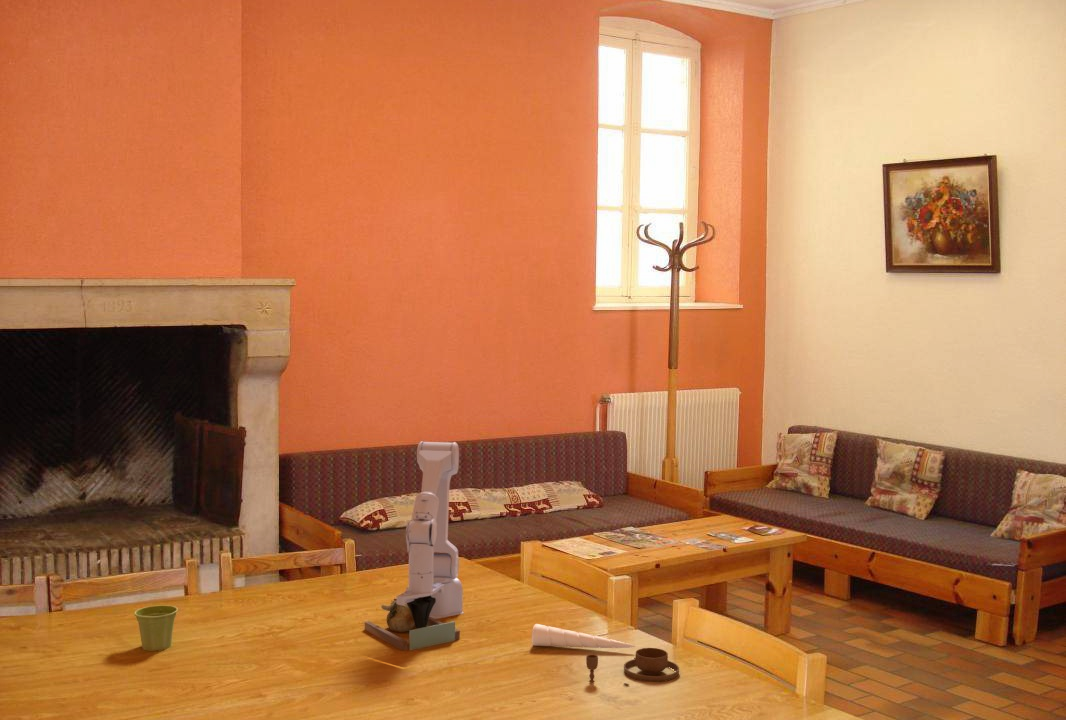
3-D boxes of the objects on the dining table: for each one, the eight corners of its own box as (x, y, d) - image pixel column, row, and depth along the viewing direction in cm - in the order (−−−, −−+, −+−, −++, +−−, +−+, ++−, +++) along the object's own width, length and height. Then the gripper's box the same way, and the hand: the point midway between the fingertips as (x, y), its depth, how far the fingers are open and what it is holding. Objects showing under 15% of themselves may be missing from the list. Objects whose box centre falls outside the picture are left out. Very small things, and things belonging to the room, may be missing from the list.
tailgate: (409, 651, 248) (409, 630, 248) (454, 642, 255) (454, 621, 255) (409, 652, 248) (409, 630, 247) (455, 642, 255) (455, 621, 254)
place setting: (681, 690, 227) (681, 662, 227) (584, 686, 229) (585, 659, 229) (677, 662, 245) (677, 636, 244) (587, 659, 246) (588, 633, 246)
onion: (402, 639, 257) (402, 605, 257) (378, 632, 262) (378, 599, 262) (424, 631, 264) (424, 598, 263) (400, 625, 268) (400, 592, 268)
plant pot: (125, 650, 247) (125, 612, 246) (157, 639, 255) (157, 602, 255) (155, 657, 243) (155, 618, 242) (187, 645, 251) (186, 608, 250)
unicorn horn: (633, 662, 250) (629, 668, 245) (533, 641, 256) (528, 646, 251) (636, 641, 249) (632, 647, 245) (536, 621, 255) (530, 626, 251)
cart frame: (419, 621, 271) (419, 611, 271) (459, 641, 256) (459, 630, 256) (364, 632, 262) (364, 622, 262) (402, 653, 247) (402, 642, 247)
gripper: (428, 562, 263) (428, 618, 264) (386, 574, 251) (386, 633, 252) (451, 567, 259) (450, 623, 259) (409, 579, 247) (409, 638, 248)
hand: (420, 628), depth 255 cm, fingers closed
